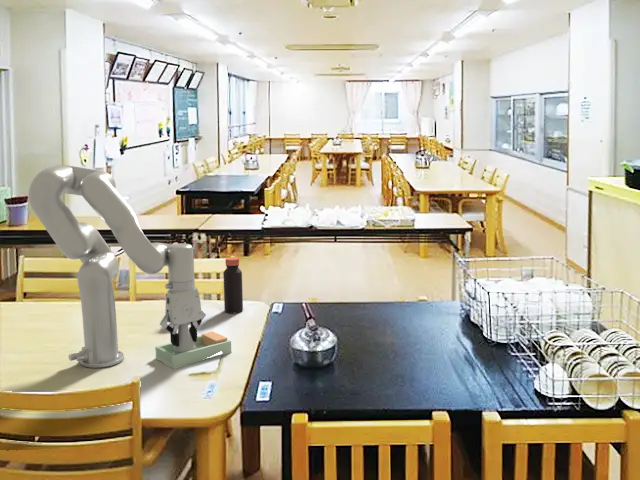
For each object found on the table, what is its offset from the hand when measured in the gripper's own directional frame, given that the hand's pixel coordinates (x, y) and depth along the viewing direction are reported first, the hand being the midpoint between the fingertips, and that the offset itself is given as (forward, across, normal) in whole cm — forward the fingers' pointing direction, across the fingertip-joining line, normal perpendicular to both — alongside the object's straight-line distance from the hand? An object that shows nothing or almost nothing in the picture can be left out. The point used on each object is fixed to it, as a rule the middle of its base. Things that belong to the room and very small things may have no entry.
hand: (184, 342), depth 207 cm
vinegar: (+5, +38, +30) cm, 49 cm away
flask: (+3, 0, 0) cm, 3 cm away
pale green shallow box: (+5, +3, 0) cm, 6 cm away
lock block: (+3, +11, 0) cm, 11 cm away
